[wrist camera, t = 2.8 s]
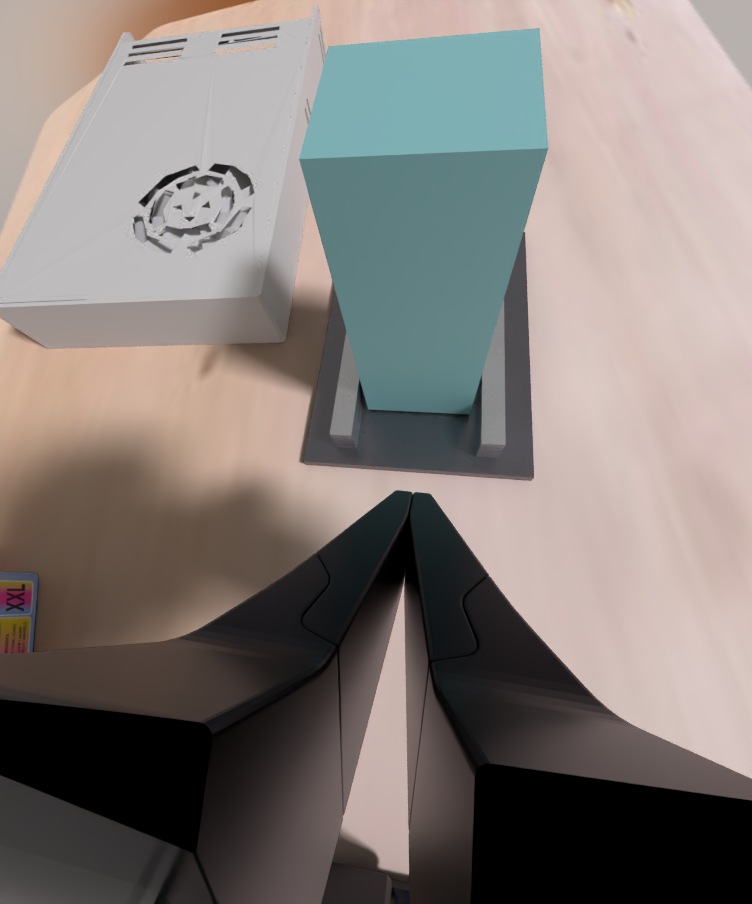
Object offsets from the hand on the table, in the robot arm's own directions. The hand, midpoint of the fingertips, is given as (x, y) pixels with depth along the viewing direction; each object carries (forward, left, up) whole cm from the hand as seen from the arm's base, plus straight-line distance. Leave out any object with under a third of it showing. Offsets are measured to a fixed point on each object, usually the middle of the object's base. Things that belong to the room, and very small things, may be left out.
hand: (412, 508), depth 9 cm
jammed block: (+10, 0, -12) cm, 16 cm away
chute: (+13, 0, -12) cm, 18 cm away
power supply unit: (+29, +20, -13) cm, 38 cm away
